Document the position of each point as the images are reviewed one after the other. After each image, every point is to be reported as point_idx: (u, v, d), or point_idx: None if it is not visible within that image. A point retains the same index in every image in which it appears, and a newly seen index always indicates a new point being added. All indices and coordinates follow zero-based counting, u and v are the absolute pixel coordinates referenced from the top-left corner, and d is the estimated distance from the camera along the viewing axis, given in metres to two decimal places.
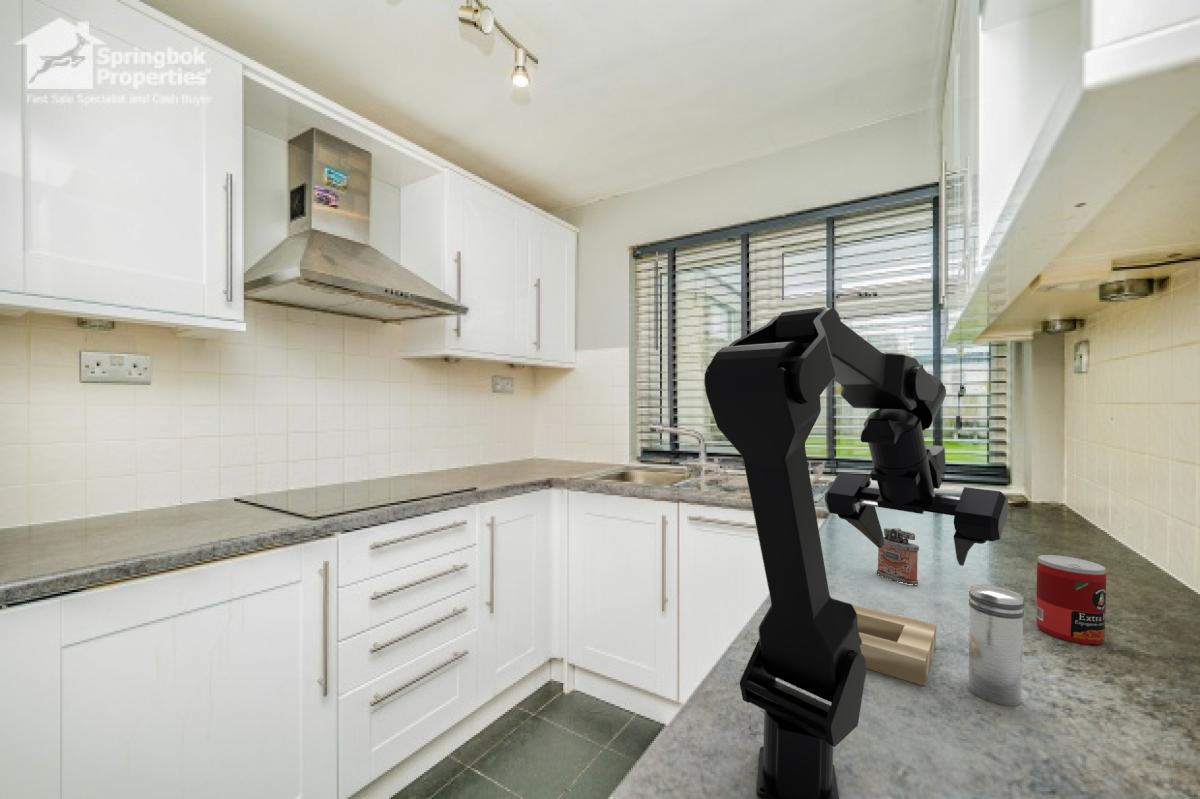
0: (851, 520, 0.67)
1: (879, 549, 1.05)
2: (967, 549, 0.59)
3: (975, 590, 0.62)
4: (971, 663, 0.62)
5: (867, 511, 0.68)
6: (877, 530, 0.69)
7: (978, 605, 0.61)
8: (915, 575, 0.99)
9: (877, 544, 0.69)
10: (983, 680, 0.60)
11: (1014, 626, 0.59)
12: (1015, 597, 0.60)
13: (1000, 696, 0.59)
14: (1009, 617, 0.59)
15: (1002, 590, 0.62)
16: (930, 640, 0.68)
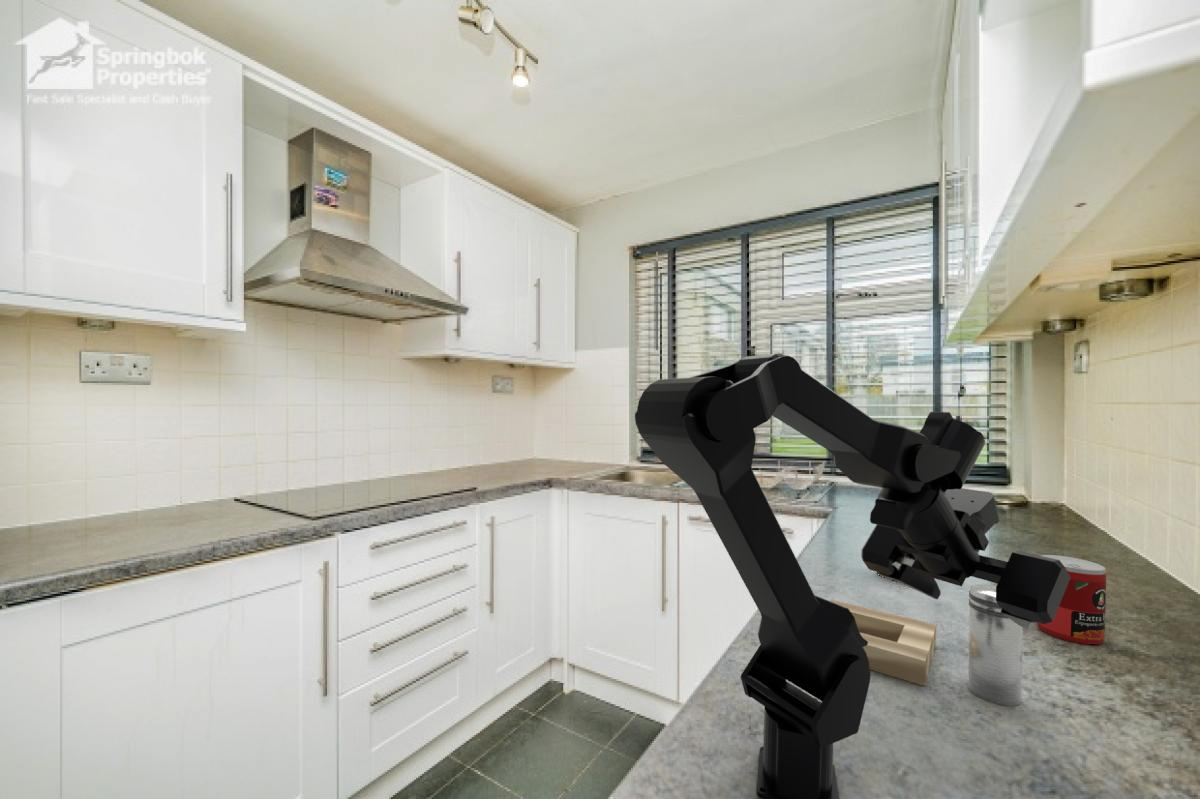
0: (892, 578, 0.62)
1: None
2: (1022, 622, 0.52)
3: (975, 590, 0.62)
4: (971, 663, 0.62)
5: (911, 567, 0.62)
6: (928, 582, 0.63)
7: (978, 605, 0.61)
8: None
9: (930, 596, 0.63)
10: (983, 680, 0.60)
11: (1014, 626, 0.59)
12: None
13: (1000, 696, 0.59)
14: None
15: None
16: (930, 640, 0.68)
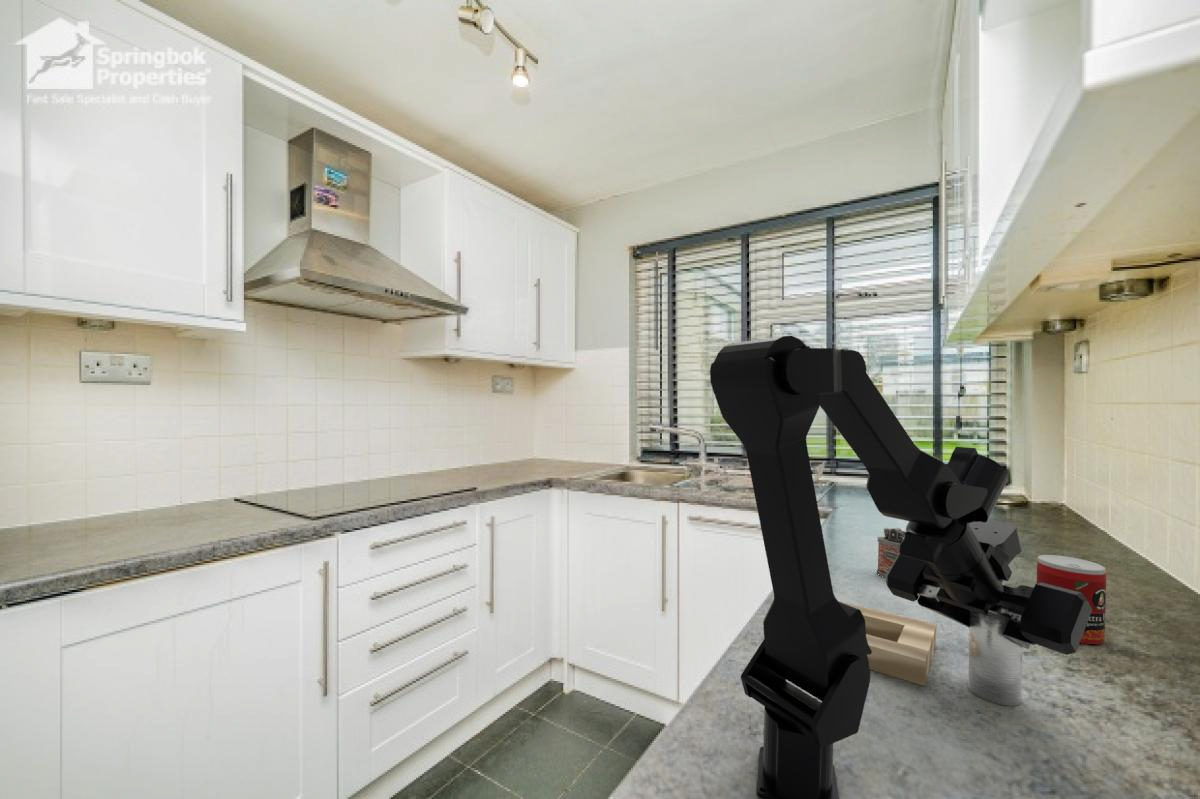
0: (932, 610, 0.63)
1: (879, 549, 1.05)
2: (1022, 643, 0.56)
3: None
4: (971, 663, 0.62)
5: None
6: (967, 613, 0.63)
7: None
8: None
9: None
10: (984, 680, 0.60)
11: None
12: None
13: (1000, 696, 0.59)
14: (1009, 617, 0.59)
15: None
16: (930, 640, 0.68)
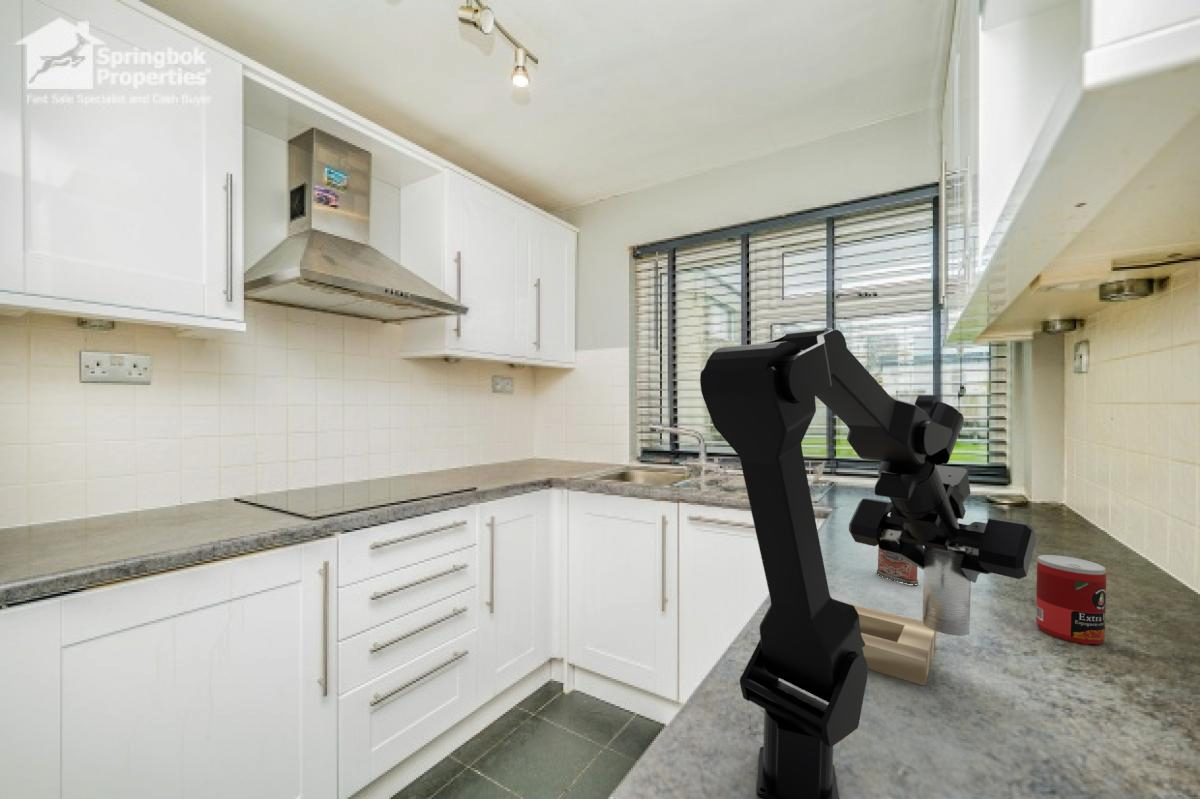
0: (893, 552, 0.66)
1: (879, 549, 1.05)
2: (975, 575, 0.61)
3: None
4: (926, 600, 0.66)
5: None
6: (921, 555, 0.68)
7: None
8: (915, 575, 0.99)
9: (922, 568, 0.68)
10: (938, 614, 0.64)
11: None
12: None
13: (953, 627, 0.63)
14: (961, 553, 0.63)
15: None
16: (930, 640, 0.68)
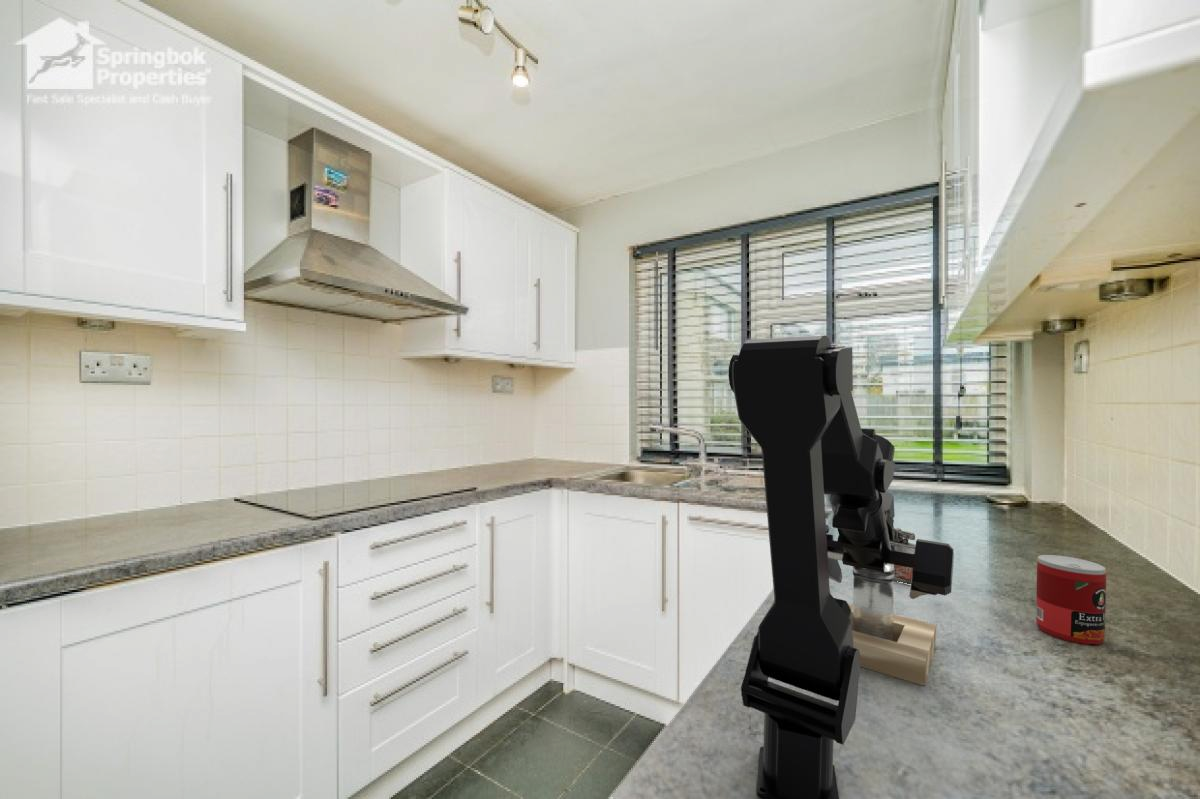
0: None
1: None
2: (921, 595, 0.66)
3: None
4: (857, 625, 0.72)
5: (829, 558, 0.73)
6: (837, 569, 0.75)
7: (864, 575, 0.71)
8: None
9: (837, 581, 0.75)
10: None
11: (890, 588, 0.70)
12: (888, 564, 0.71)
13: None
14: (887, 582, 0.70)
15: None
16: (930, 640, 0.68)
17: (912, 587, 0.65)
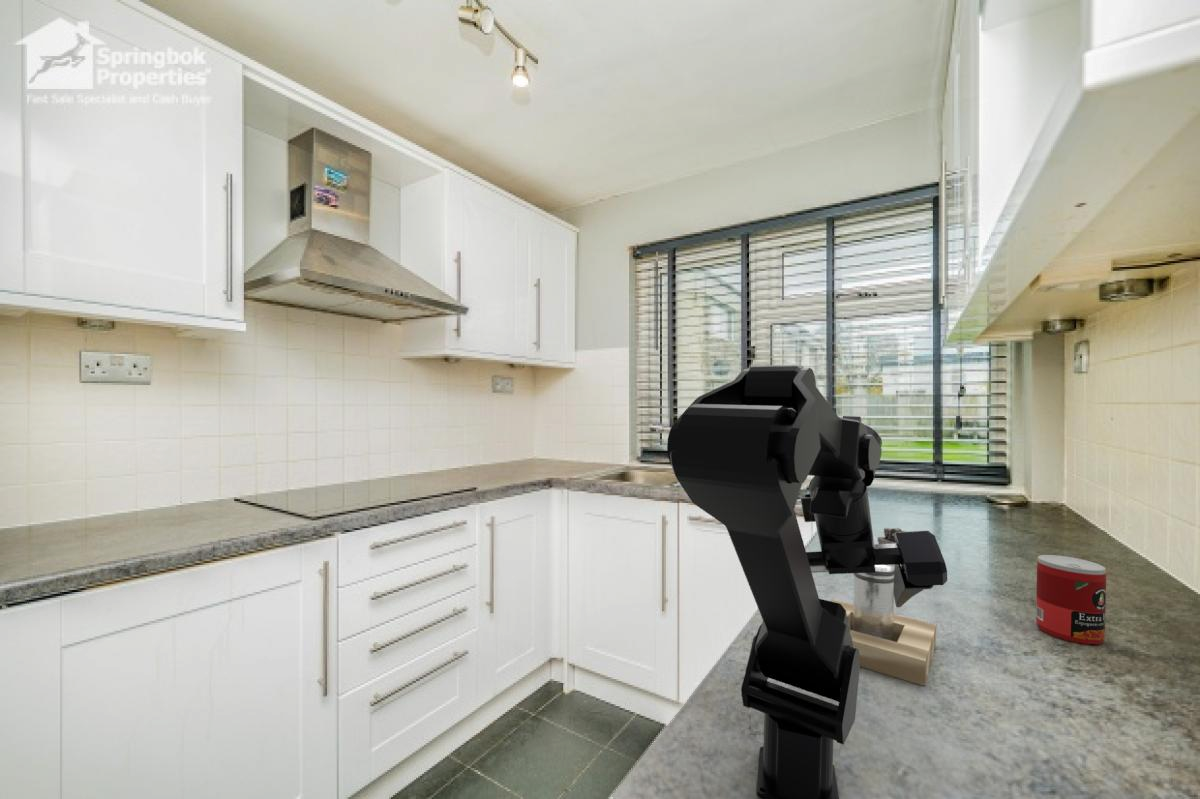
0: None
1: None
2: (913, 595, 0.59)
3: None
4: (857, 625, 0.72)
5: None
6: None
7: (865, 575, 0.71)
8: None
9: None
10: None
11: (891, 589, 0.70)
12: None
13: None
14: (888, 582, 0.70)
15: None
16: (930, 640, 0.68)
17: (905, 585, 0.58)
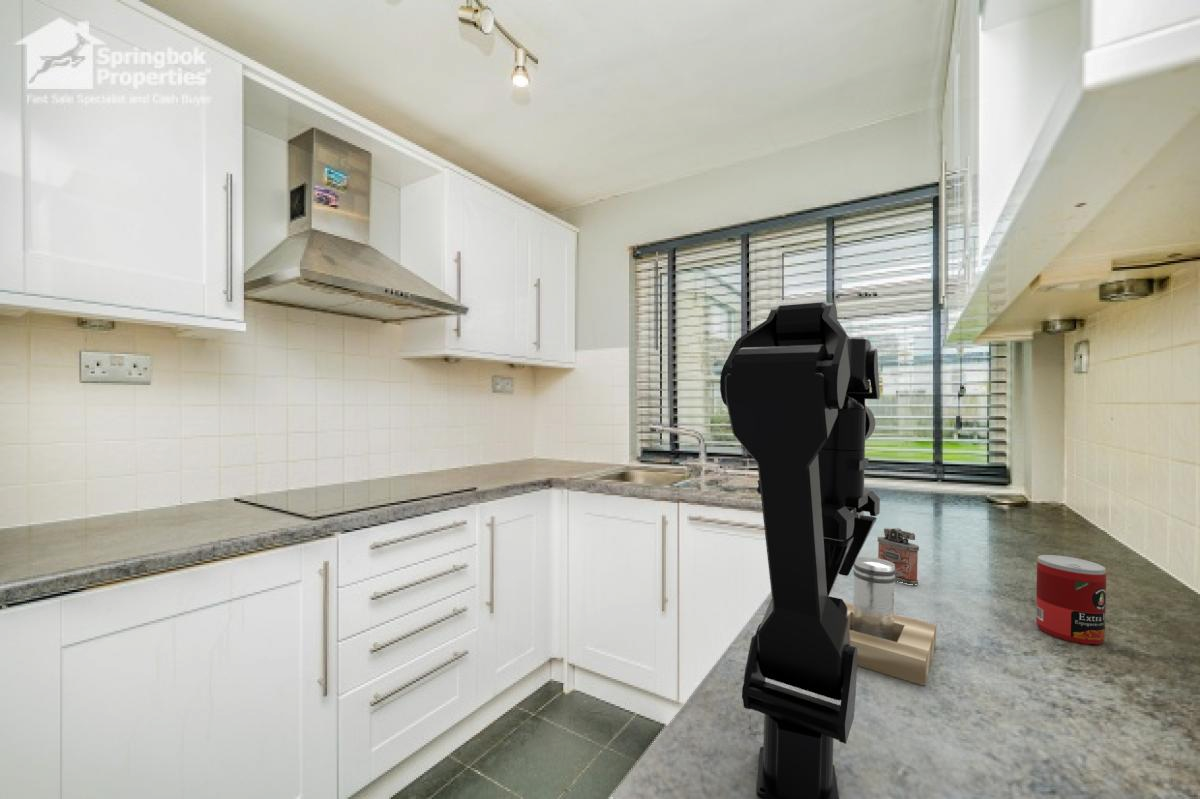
0: (850, 543, 0.53)
1: (879, 549, 1.05)
2: (866, 538, 0.63)
3: (861, 562, 0.72)
4: (857, 626, 0.72)
5: None
6: None
7: (865, 575, 0.71)
8: (915, 575, 0.99)
9: (832, 586, 0.55)
10: None
11: (891, 589, 0.70)
12: (889, 564, 0.71)
13: None
14: (888, 582, 0.70)
15: (876, 559, 0.73)
16: (930, 640, 0.68)
17: (870, 520, 0.62)
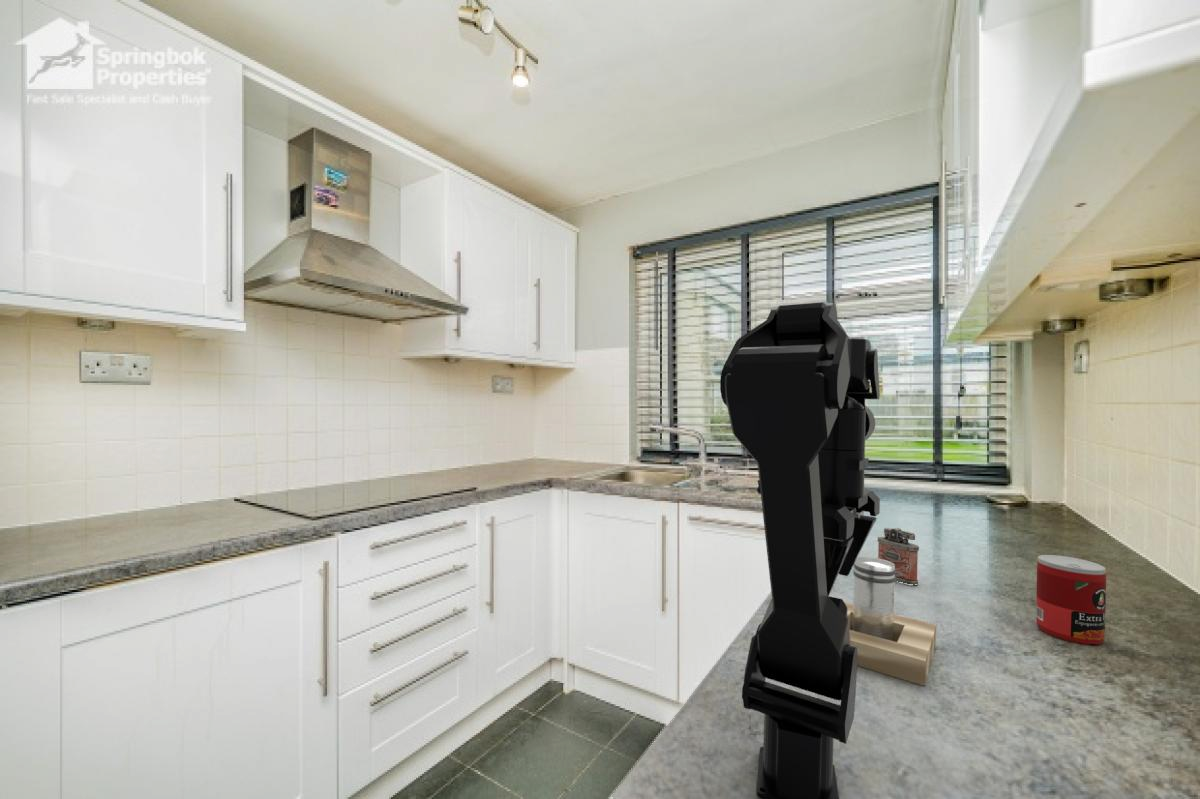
0: (850, 543, 0.53)
1: (879, 549, 1.05)
2: (866, 538, 0.63)
3: (860, 562, 0.72)
4: (857, 625, 0.72)
5: None
6: None
7: (865, 575, 0.71)
8: (915, 575, 0.99)
9: (832, 586, 0.55)
10: None
11: (891, 589, 0.70)
12: (889, 564, 0.71)
13: None
14: (888, 582, 0.70)
15: (876, 559, 0.73)
16: (930, 640, 0.68)
17: (870, 520, 0.62)
